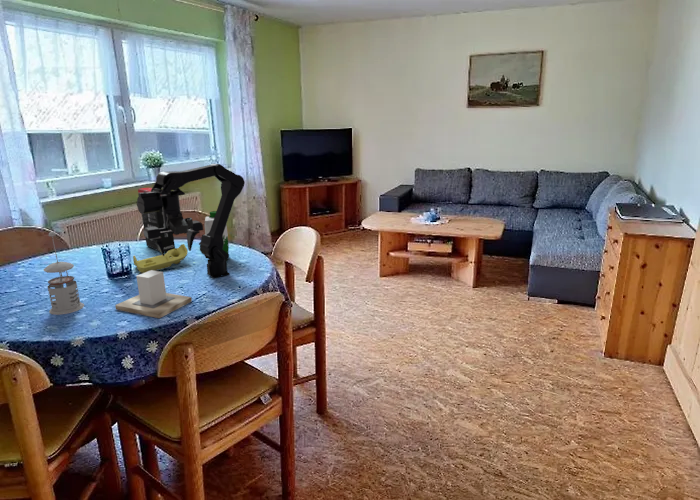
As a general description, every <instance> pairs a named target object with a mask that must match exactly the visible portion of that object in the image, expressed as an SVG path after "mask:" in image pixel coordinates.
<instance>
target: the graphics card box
mask: <svg viewBox="0 0 700 500" xmlns="http://www.w3.org/2000/svg"><path fill="white" fill-rule="evenodd" d="M152 188H153V187H143V188H142V187H141V188H137V192H138V193H142V192H143V193H147V192H151V190H152ZM138 193H137V194H138ZM162 212H163V210H162V209H161V210H160V211H157V212H151V213H145V214H141V218H142V225H143V230H144V229H145V228H148V227H157V228H159V229H160V228H165V227H164V218H163V215H162ZM169 230H170V229H169ZM160 237H161V238H162V245H163V249H164V253H167V252H168V251H169V250H172V249H174V248H176V244H175V238H174V237H175V236H174V234H173V232H170V233H164V234H161V235H160ZM144 238H145V244H146V245H145V246H147V247H149V248H150V249H153V250H156V251H157V252H160V250H159V248H158V246H157V245H156V243H155V242H154V241H153V240H151V239H148V238H147V237H145V236H144Z"/></svg>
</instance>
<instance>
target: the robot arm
mask: <svg viewBox="0 0 700 500" xmlns="http://www.w3.org/2000/svg"><path fill="white" fill-rule="evenodd" d="M211 177H214V178H216V180H217V181H219V182H221V184H220V191H221V196H220V200H219V202H218V206H217V208H216V210H215V211H216V214H215V217H214V220H213V223H212V226H211V229H210V232H209V233H208V234H207V235H205V234H202V235H201V239H200V242H199V243H198V245H199V251H200V253H201V254H202V255H203V256H204V258H205V259H207V263H206V270H207V271H206V272H207V274H206V275H207V276H209V277H211V278H213V279H217V278H221V277H225V276H230V272H228V270H229V269H228V261H227V260H229V258H230V254H229V252H228V253H227V252H225V251H224V250H223V245H224V242H223V233H224V230H225V227H226V224H227V223H228V221H229V216H230V215H231V212H232V209H233V205H234V202H235V200H236V199H237V197H239V195H240V194H241V193H242V191H243V189H244V188H245V183H246V181H245V179H244V177H243V176H241V174H236V173H235V172H232V171H231V170H230V169H228V168H226V167H225V166H224V165H222V164H220V163H211V164H209V165H203V166H199V167H196V168H191V169H185V170H181V171H176V170H175V171H159V173H158V174H157V176H156V179H155V183H154V184H153V186H152V187H151V188H152V190H151V192H147V193H143V192H142V193H137V194H138V197H137V199H136V207H137V210H138V212H139V213H140V214H141V215H142V214H145V213H151V212H157V211H160V210H161V209H162V210H163V212H162V215H163V218H164V227H165V228H160V229H159V228H157V227H148V228H145V229H144V228H143V236H144V238H145V237H147V238H148V239H151V240H153V241H154V242H155V243H156V245H157V246H158V248H159V250H160V251H159V253H160V255H163V256H164V254H165V252H164V249H163V245H162V238H161V237H160V235H161V234H164V233H170V232H173V236H177V235H181V234H184V235H186V240H187V241H186V242H187V243H186V244H187V250H188V251H189V252H191V251H192V249H193V248H192V247H193V243H194V240H195V238H196V236H197V234H200V233H201V232H200V231H204V225H203V223H202V222H200V221H198V220H194V219H193V218H192V217H185V218H184V217H183V213H182V211H181V203H180V196H184V195H185V192H184V191H183V190H181V187H184V186H185V185H187V184H188V183H191V182H194V181H200V180H204V179H206V178H211ZM169 229H170V230H169Z"/></svg>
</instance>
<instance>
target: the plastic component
mask: <svg viewBox="0 0 700 500" xmlns="http://www.w3.org/2000/svg"><path fill="white" fill-rule="evenodd" d="M188 251H189V250H188V247H186V245H185V243H183V244H182V243H181V244H180V245H179V247H175V248H174V249H172V250H169V251H167V252H165V253H164V256H163V255H162V254H160V255H156V256H152V257H148V258H143V259H140V260H138V259H137V257H136V255H133V257H132V259H133V261H132V262H133V264H134V266H135V267H136V268H137V270H138V272H140V274H143V273H145V272H148V271H150V270H154V271H159V270H160V271H161V270H162V269H166V268H170V267H171V266H172V265H173V264H174V265H178V264H180V263H181V261H183V260H184V259H186V257H187V255H188Z"/></svg>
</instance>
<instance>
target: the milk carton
mask: <svg viewBox="0 0 700 500" xmlns="http://www.w3.org/2000/svg"><path fill="white" fill-rule="evenodd" d="M216 211H217V210H213V211H209V216H205V217H204V218H205V219H204V225H203V229H204V233H205V234H204V235H207V234H208V233H209V232H210V229H211V226H212V223H213V220H214V217H215V214H216ZM223 242H224V245H223V250H224V251H225V252H227V253H228V254H229V246H230V245H229V235H228V226H227V224H226V227H225V230H224V233H223ZM228 260H229V259H228ZM228 260H227V262H229V261H228Z"/></svg>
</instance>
